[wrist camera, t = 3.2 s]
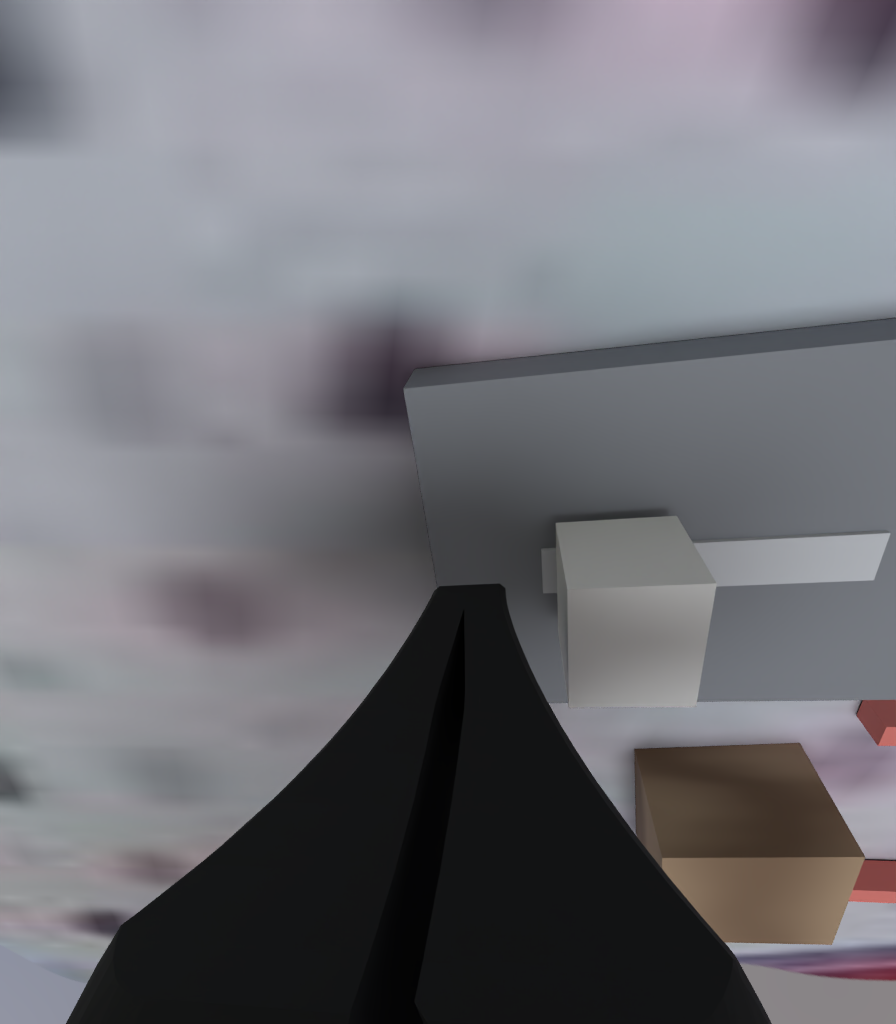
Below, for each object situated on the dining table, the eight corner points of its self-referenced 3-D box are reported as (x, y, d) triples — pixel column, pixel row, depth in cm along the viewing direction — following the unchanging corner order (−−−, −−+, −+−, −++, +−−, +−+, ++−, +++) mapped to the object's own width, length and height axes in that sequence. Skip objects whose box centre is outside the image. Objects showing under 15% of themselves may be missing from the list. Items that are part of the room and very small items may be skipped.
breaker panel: (460, 663, 15) (456, 706, 14) (414, 368, 11) (402, 390, 10) (897, 654, 14) (941, 702, 12) (1046, 302, 9) (1139, 316, 8)
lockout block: (635, 828, 19) (660, 940, 16) (633, 744, 17) (662, 858, 14) (777, 826, 18) (831, 944, 15) (796, 737, 16) (865, 857, 13)
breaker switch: (558, 630, 12) (568, 708, 10) (555, 523, 11) (567, 589, 9) (664, 627, 12) (696, 706, 10) (676, 515, 10) (717, 583, 8)
